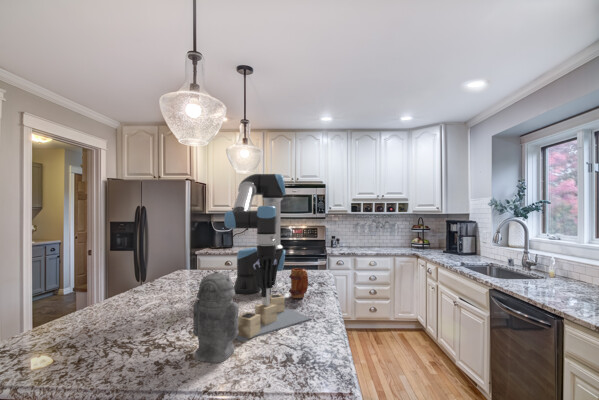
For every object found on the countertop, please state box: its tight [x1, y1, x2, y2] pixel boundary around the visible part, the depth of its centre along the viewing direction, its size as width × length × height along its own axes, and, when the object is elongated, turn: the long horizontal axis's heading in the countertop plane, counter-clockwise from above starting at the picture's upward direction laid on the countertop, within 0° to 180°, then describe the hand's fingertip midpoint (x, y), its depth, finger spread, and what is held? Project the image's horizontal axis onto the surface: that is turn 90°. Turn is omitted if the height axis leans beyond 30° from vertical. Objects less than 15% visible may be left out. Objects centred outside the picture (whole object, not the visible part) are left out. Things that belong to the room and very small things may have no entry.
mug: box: [288, 267, 309, 299], centre depth 145 cm, size 15×8×15 cm, turn 25°
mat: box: [234, 306, 312, 342], centre depth 114 cm, size 20×32×1 cm, turn 129°
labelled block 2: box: [270, 293, 285, 312], centre depth 126 cm, size 6×6×6 cm
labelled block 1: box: [238, 311, 260, 339], centre depth 102 cm, size 6×6×6 cm
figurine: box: [192, 270, 240, 364], centre depth 88 cm, size 10×14×25 cm
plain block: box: [254, 303, 277, 325], centre depth 114 cm, size 6×6×6 cm
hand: (265, 304), depth 114 cm, fingers closed
